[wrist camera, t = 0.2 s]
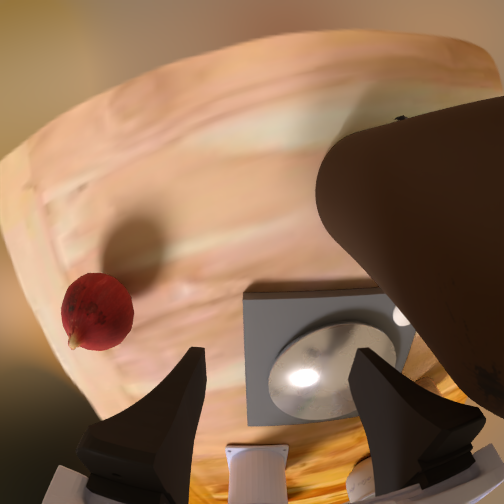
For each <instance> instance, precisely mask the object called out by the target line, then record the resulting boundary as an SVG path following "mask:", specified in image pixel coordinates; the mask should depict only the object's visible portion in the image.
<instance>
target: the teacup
mask: <svg viewBox="0 0 504 504" xmlns="http://www.w3.org/2000/svg"><path fill="white" fill-rule="evenodd" d="M346 488H347V493H348V496H349V500H350V503H353V502H357V501H362V500H366V499H370V498H374V497H375V484H374V474H373V466H372V460H371V457H369V458H367V459H365V460H363V461H362V462H360V463H359V464H357V465H356V466H355V467H354V468H353V470H352V472H351V473H350V474H349V476H348V477H347V480H346Z"/></svg>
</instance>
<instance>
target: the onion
mask: <svg viewBox="0 0 504 504" xmlns="http://www.w3.org/2000/svg"><path fill="white" fill-rule="evenodd" d="M61 316H62V323H63V327H64V329H65V331H66V333H67V335H68V336H69V339H68V346H69V347H70V348H71V349H72V350H74V349H75V348H76V347H79V346H80V347H82V348H85V349H88V350H96V351H103V350H107V349H110V348H112V347H115V346H117V345H118V344H120V343H121V342H122V341H123V340H124V338H125V337H126V336H127V334H128V333H129V332H130V331H131V328H132V324H133V317H134V309H133V305H132V300H131V296H130V295H129V293H128V291H127V290H126V288H125V287H124V286H123V285H122V284H121V283H120V282H119V281H118V280H117V279H116V278H113V277H111V276H109V275H107V274H105V273H87V274H85V275H83V276H81V277H80V278H78V279H77V280H76V281H74V282H73V283H72V284H71V285H70V286H69V287H68V289H67V291H66V294H65V297H64V300H63V303H62V307H61Z"/></svg>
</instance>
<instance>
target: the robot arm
mask: <svg viewBox="0 0 504 504" xmlns="http://www.w3.org/2000/svg"><path fill="white" fill-rule="evenodd" d="M206 382H207V376H206V362H205V348H201V347H191V348H189V350H188V351H187V352H186V354H185V355H184V356H183V358H182V359H181V360H180V362H179V363H178V364H177V365H176V366H175V368H174V369H173V370H172V371H171V372H170V373H169V374H168V375H167V377H166V378H165V379H164V380H163V381H162V382H161V383H160V384H158V385H157V386H156V387H155V388H154V389H153V390H152V391H151V392H150V393H148V394H147V395H146V396H145V397H143V398H142V399H141V400H139V401H138V402H136V403H135V404H133V405H132V406H130V407H129V408H127V409H125V410H124V411H122V412H120V413H118V414H116V415H114V416H112V417H110V418H108V419H106V420H103V421H100V422H98V423H95V424H93V425H90V426H89V427H88V428H87V429H86V431H85V432H84V434H83V436H82V438H81V440H80V442H79V444H78V447H77V449H76V454H77V456H78V457H79V459H80V460H81V461H82V463H83V464H84V465H85V466H86V468H87V469H88V470H89V471H90V472H91V474H90V477H89V478H87V477H86V476H84V475H82V474H80V473H78V472H75V471H73V470H71V469H68V468H66V467H64V466H61V465H59V466H58V468H57V470H56V473H55V475H54V477H53V479H52V481H51V484H50V486H49V488H48V490H47V493H46V495H45V497H44V500H43V502H42V504H188V501H189V485H190V473H191V463H192V454H193V446H194V439H195V434H196V430H197V426H198V422H199V418H200V414H201V410H202V406H203V402H204V398H205V390H206ZM348 382H349V387H350V391H351V395H352V398H353V401H354V403H355V406H356V409H357V411H358V414H359V416H360V419H361V422H362V424H363V427H364V429H365V433H366V436H367V440H368V444H369V449H370V454H371V460H372V466H373V474H374V484H375V497H374V498H370V499H366V500H362V501H357V502H353V503H348V504H474V503H476V502H477V501H479V500H480V499H482V498H483V497H484V496H485V495H487V494H488V493H490V492H491V491H492V490H493V489H494V488H496V487H497V486H498V485H499V484H500V483H502V482H503V481H504V463H503V462H502V460H501V458H500V457H499V455H498V453H497V451H496V450H495V448H494V446H493V445H492V444H489V445H487V446H485V447H483V448H482V449H480V450H478V451H477V452H475V453H474V454H473V455H472V453H471V452H470V451H471V450H472V449H473V446H472V444H471V442H472V441H473V440H474V438H475V437H476V436H477V435H478V433H479V432H480V431H481V430H482V428H483V427H484V425H485V423H486V418H485V416H484V415H483V413H482V412H481V411H480V409H479V408H478V407H474V406H470V405H465V404H461V403H458V402H455V401H451V400H449V399H446V398H443V397H441V396H439V395H437V394H434V393H432V392H430V391H428V390H427V389H425V388H423V387H421V386H419V385H418V384H416V383H415V382H413V381H412V380H410V379H409V378H407V377H406V376H404V375H403V374H402V373H400V372H399V371H398V370H396V369H395V368H394V367H393V366H391V365H390V364H389V363H388V362H386V361H385V360H384V359H383V358H382V357H380V356H379V355H378V354H377V353H375V352H374V351H373V350H372V349H370V348H369V347H365V348H357V351H356V354H355V358H354V361H353V364H352V367H351V370H350V373H349V376H348ZM288 450H289V446H288V445H286V444H284V445H264V446H226V447H225V451H226V456H227V461H228V467H229V472H230V476H229V495H228V504H288V498H287V487H286V477H285V466H286V461H287V455H288Z"/></svg>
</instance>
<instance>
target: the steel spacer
mask: <svg viewBox="0 0 504 504" xmlns="http://www.w3.org/2000/svg"><path fill="white" fill-rule="evenodd" d="M415 383H416V384H418V385H419V386H421V387H423V388H425V389H427V390H428V391H430V392H432V393H434V394H437V395H439V396H441V397H443V395H442V394H441V392H440V391H439V389H438V388H437V386H436V385H435V383H434V382H433V381H432V379H431V378H429V377H425V378H421V379H419V380H417V381H416V382H415ZM443 398H444V397H443Z"/></svg>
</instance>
